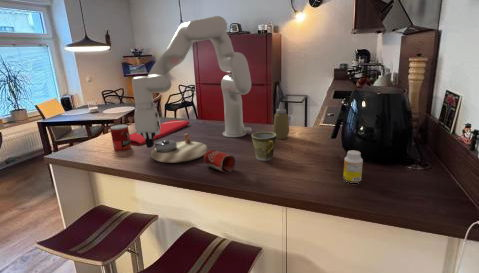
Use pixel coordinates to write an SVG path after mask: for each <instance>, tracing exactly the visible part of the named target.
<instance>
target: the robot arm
mask: <svg viewBox="0 0 479 273" xmlns="http://www.w3.org/2000/svg"><path fill="white" fill-rule="evenodd" d="M227 30H228V23H227V20H226V19H225V18H224V17H222V16H220V15H215V16H211V17H210V16H209V17H205V18H202V19H201V18H200V19H194V20H189V21H185V22H182V23H181V24H180V25H179V26H178V28H177V30H176V32H175V33H174V35H173V37H172V39H171V40H170V42H169V44H168V46H167V48H166V49H165V51H164V52H163V53H161V55H160V57H158V58H157V60H156V62H154V64H153V66H152V67H151V68H150V70H149V72H148V74H147V76H145V75H143V76H142V75H141V76H134V77H133V78H132V79H131V85H132V92H133V98H134V104H135V106H134V107H135V109H134V115H133V116H134V126H135V127H134V128H135V132H137V134H139V135H142V136H143V137H144V139H145V140H146V143H145V145H146V148H147V149H149V148H150V149H151V148H152V147H154V145H155V142H154V141H155V140H153V137H154V136H155V135H158V134H160V129H161V125H160V124H161V120H160V115H159V112H158V109H157V106H158V105H157V103H156V102H154V95H153V93H154V94H157V93H158V94H159V93H160V94H161V93H163V94H164V93H166V92H168V91H170V90H171V88H172V81H171V78H169V77H168V74H169V73H170V71H172V69H174V68H175V67H177V66H178V65H180V64H181V63H183V61H184V60H185V59H186V57H187V55H188V54H189V52H190V50H191V48H192V47H193V44H194V42H203V41H207V40H209V41H211V43H212V44H213V47H214V51H215V54H216V58H217V63H218V66H219V70H221V71H222V72H224V73H228V74H226V75H224V76H223V78H221V83H220V86H221V91H222V97H223V108H224V110H223V111H224V127H225V128H224V131H223V132H222V136H224V137H226V138H240V137H243V136H246V135H247V133H248V132H249V133H250V132H252V127H250V126H249V127H248V126H247V127H246V126H245V124H244V122H243V120H244V118H243V112H244V111H243V99H242V95H247V94H249V92H250V91H251V89H252V79H251V73H250V68H249V63H248V60H247V58H246V57H245V55H244V54H243V53H242V52H239V51H238V52H237V51H234V46H233V44H232V40H231V37H230V36H229V34H228V33H227ZM155 107H156V108H155ZM148 132H149V133H148Z"/></svg>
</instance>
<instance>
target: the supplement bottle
mask: <svg viewBox="0 0 479 273" xmlns="http://www.w3.org/2000/svg"><path fill="white" fill-rule="evenodd" d="M361 154H362V153H361V152H360V151H359V150H354V149H353V150H348V151H347V154H346V156H344V160H343V161H344V163H343V175H342V179H344V180H345V181H346V182H350V183H358V182H360V181H362V174H363V173H362V172H363V164H364V162H363V161H364V159H363V158H362V156H361ZM344 180H343V181H344ZM345 181H344V182H345ZM346 182H345V183H346ZM360 183H361V182H360ZM358 184H359V183H358Z"/></svg>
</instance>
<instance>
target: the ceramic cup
mask: <svg viewBox="0 0 479 273" xmlns="http://www.w3.org/2000/svg"><path fill="white" fill-rule="evenodd" d="M251 141H252V144H253V149H254V154H255V158H256V159H257V160H258V161H263V162H264V161H265V162H266V161H267V162H268V161H271V160H272V159H273V157H274V153H275V152H274V151H275V145H276V141H277V138H276V134H275V133H274V132H273V131H258V132H253V133H252V134H251Z"/></svg>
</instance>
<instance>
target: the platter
mask: <svg viewBox="0 0 479 273" xmlns="http://www.w3.org/2000/svg"><path fill="white" fill-rule="evenodd" d="M183 136H184V141H183V140H182V141H176V143H177V149H176V150H175V151H173V152H168V153H159V152H156V147H155V148H153V149H152V150H151V152H150V157H151V158H152V159H153V160H154V161H156V162H161V163H170V164H171V163H182V162H188V161H189V162H190V161H192V160H196V159H199V158H201V157H204V155H205V154H206V152H208V146H207V145H206V144H205V143H202V142H200V141H199V142H198V141H191V137H190V136H191V135H190V133H184V135H183Z"/></svg>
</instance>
